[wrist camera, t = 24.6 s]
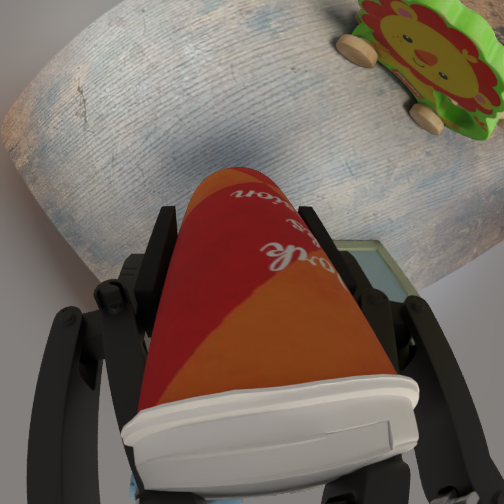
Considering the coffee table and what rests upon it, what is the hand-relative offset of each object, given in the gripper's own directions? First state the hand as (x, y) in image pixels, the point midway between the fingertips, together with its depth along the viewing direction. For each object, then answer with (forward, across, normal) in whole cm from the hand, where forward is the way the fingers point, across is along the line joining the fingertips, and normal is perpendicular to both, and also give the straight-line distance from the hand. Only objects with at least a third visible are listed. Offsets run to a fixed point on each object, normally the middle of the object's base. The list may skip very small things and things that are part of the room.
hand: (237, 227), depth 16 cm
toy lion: (+11, +14, +12) cm, 21 cm away
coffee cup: (+2, 0, 0) cm, 2 cm away
